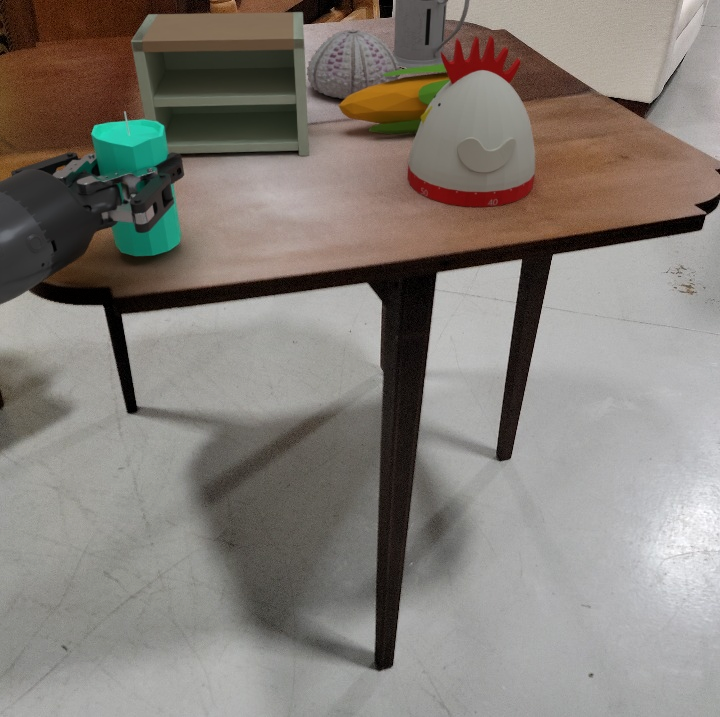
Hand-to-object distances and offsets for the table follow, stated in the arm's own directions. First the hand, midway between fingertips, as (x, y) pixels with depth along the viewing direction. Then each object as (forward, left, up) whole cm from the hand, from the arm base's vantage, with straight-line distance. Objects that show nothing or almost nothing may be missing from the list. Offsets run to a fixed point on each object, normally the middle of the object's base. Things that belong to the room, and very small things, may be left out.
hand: (154, 158), depth 66 cm
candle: (-1, -2, -7) cm, 8 cm away
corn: (+28, +28, -8) cm, 40 cm away
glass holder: (+34, +55, -8) cm, 65 cm away
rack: (+5, +26, -8) cm, 27 cm away
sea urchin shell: (+21, +44, -8) cm, 49 cm away
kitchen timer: (+32, +12, -8) cm, 35 cm away
